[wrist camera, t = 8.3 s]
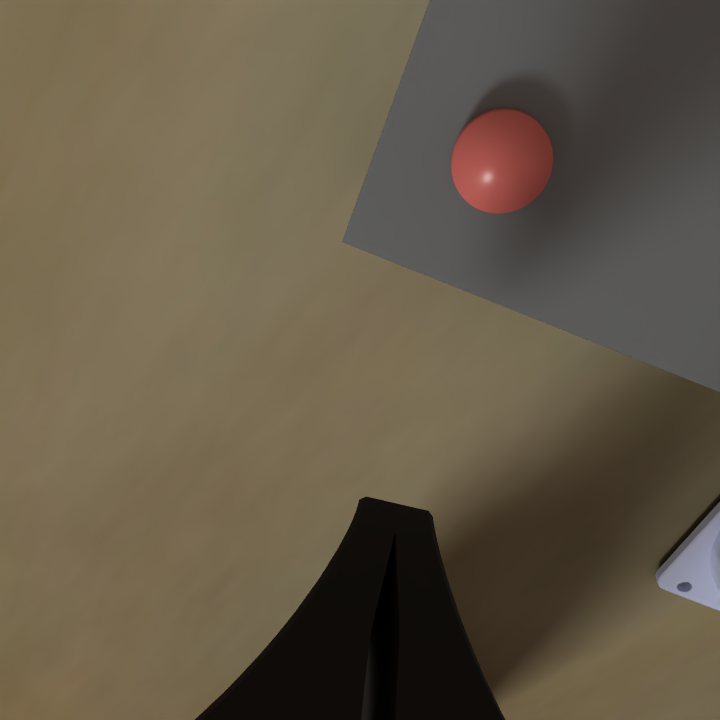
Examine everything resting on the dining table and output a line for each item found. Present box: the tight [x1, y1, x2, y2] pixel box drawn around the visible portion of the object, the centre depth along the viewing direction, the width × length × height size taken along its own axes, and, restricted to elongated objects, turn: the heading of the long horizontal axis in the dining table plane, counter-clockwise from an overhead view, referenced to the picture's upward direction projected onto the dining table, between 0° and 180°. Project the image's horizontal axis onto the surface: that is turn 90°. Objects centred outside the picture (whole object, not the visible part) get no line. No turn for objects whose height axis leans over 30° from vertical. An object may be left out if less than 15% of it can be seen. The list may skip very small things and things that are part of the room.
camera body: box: [342, 0, 720, 392], centre depth 14 cm, size 13×9×5 cm
